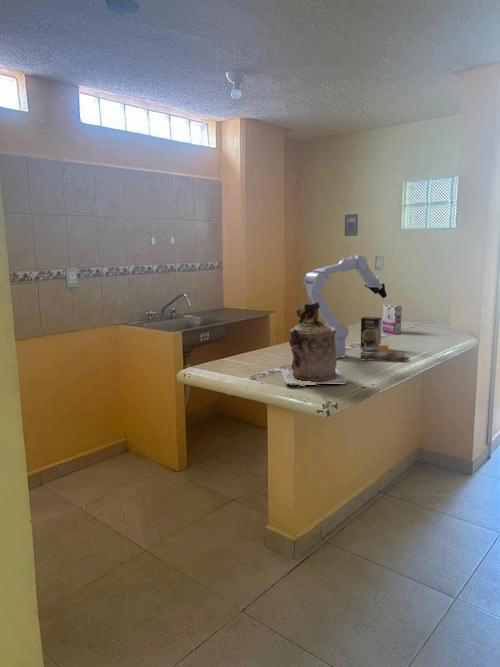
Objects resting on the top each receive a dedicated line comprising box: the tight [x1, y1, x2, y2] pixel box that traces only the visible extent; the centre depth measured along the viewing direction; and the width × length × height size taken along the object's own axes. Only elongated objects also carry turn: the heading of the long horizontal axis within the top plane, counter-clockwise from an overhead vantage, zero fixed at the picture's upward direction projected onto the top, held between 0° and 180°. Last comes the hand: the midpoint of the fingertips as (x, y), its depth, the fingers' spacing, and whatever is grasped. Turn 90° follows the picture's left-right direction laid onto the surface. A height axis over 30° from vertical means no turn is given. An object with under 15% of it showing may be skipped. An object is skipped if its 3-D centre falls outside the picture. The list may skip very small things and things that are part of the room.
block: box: [379, 343, 389, 355], centre depth 231 cm, size 4×4×4 cm
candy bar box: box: [382, 304, 403, 335], centre depth 291 cm, size 11×5×16 cm, turn 25°
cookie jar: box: [280, 302, 348, 386], centre depth 200 cm, size 25×25×32 cm
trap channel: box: [360, 348, 406, 363], centre depth 232 cm, size 20×11×4 cm, turn 73°
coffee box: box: [360, 316, 382, 349], centre depth 251 cm, size 9×6×16 cm
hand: (381, 294), depth 245 cm, fingers open, 7 cm apart
